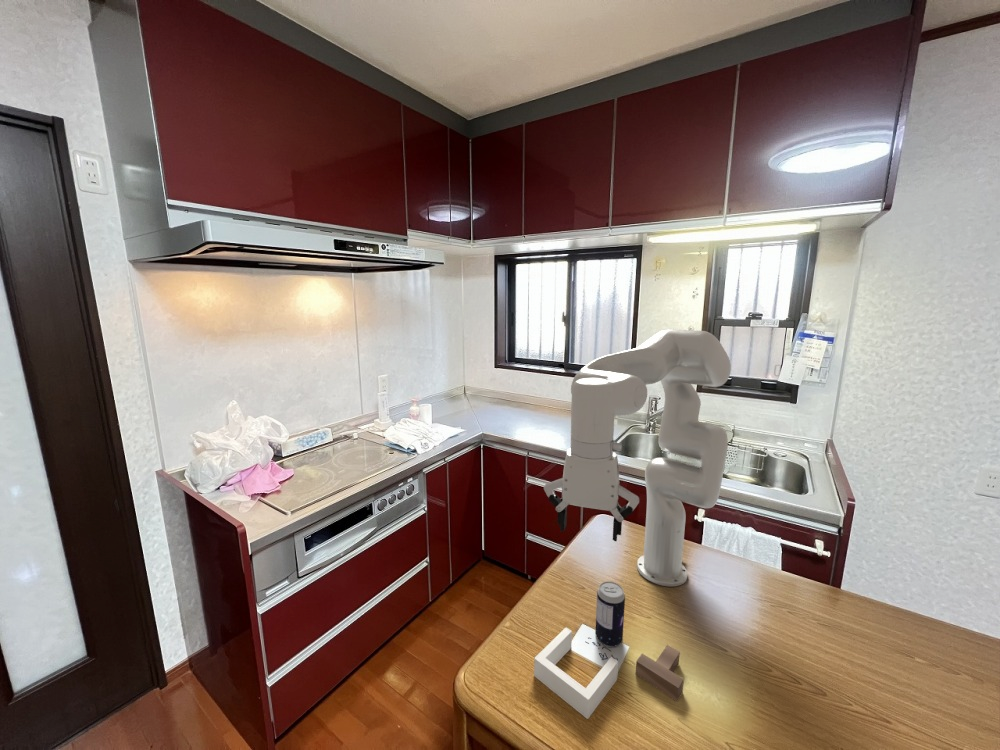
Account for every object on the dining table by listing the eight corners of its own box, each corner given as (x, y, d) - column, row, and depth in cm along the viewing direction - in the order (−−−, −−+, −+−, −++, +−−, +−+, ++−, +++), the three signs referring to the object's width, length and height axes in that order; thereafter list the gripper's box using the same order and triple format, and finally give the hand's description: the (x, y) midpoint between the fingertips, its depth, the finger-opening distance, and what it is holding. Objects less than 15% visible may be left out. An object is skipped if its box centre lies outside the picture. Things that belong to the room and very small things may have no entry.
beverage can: (623, 652, 84) (626, 600, 82) (595, 647, 85) (597, 596, 83) (621, 630, 89) (624, 582, 87) (594, 626, 90) (597, 578, 88)
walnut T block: (652, 649, 84) (653, 636, 84) (693, 673, 79) (694, 660, 78) (635, 674, 79) (636, 661, 78) (677, 702, 73) (678, 688, 73)
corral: (565, 643, 86) (565, 627, 85) (617, 679, 78) (618, 661, 77) (534, 675, 78) (534, 658, 78) (587, 719, 70) (588, 699, 69)
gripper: (641, 444, 74) (637, 530, 77) (549, 435, 80) (548, 515, 83) (641, 459, 67) (636, 553, 70) (540, 448, 73) (539, 535, 76)
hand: (588, 532), depth 76 cm, fingers open, 9 cm apart
